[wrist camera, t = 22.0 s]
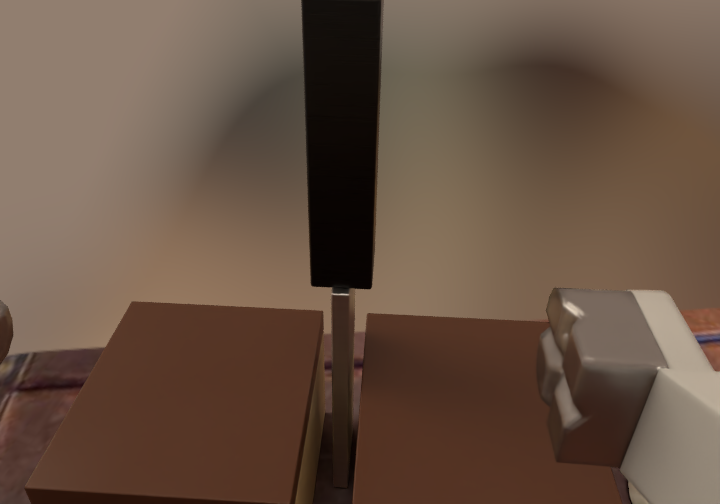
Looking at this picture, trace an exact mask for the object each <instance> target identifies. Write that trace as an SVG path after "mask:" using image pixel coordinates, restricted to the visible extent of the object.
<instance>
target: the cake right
mask: <svg viewBox="0 0 720 504" xmlns="http://www.w3.org/2000/svg"><path fill="white" fill-rule="evenodd" d="M549 327H550V323H549V322H534V321H514V320H494V319H474V318H454V317H433V316H413V315H393V314H373V313H368V314H367V321H366V333H365V346H364V358H363V371H362V384H361V397H360V409H359V422H358V435H357V448H356V460H355V473H354V486H353V499H352V504H622V501H621V498H620V495H619V492H618V489H617V486H616V483H615V479H614V476H613V473H612V470H611V467H605V466H593V465H582V464H570V463H558V462H556V460H555V456H554V452H553V448H552V444H551V440H550V436H549V432H548V428H547V424H546V422H547V418H548V414H549V410H550V407H549V406H548V405H547V404H546V403H545V402H543V401H542V400H541V399H540V395H539V391H538V386H537V378H536V356H537V348H538V343H539V338H540V334H542V333H543V332H544V331H545V330H546V329H548V328H549Z"/></svg>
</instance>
